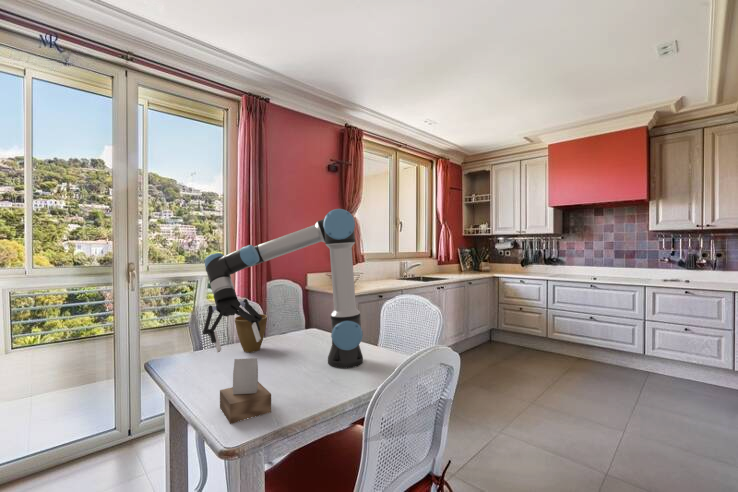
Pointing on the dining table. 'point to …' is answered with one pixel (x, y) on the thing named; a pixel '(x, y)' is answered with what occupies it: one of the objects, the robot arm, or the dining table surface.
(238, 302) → the robot arm
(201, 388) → the dining table surface
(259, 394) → the walnut block
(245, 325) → the plant pot
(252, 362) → the small grey carton
